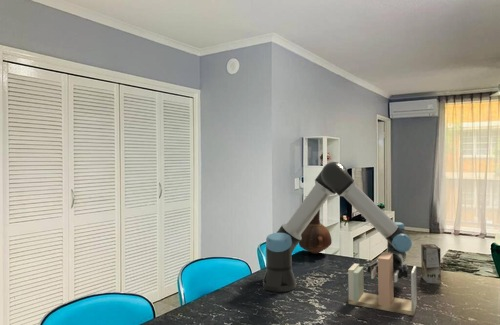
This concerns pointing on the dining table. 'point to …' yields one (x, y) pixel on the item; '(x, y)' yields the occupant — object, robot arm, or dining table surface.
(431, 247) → the coffee box
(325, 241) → the vase
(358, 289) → the books
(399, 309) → the board
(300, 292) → the dining table surface
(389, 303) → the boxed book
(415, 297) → the grey flat panel
